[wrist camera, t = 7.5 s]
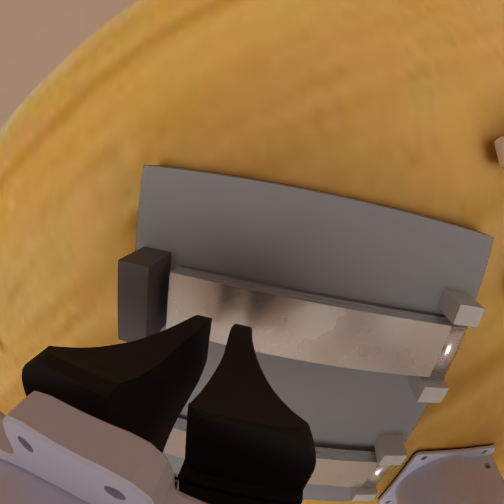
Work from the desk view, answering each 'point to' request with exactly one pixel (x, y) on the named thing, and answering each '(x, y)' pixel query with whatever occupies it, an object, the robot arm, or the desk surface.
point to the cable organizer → (500, 150)
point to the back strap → (327, 462)
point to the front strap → (316, 325)
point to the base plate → (306, 290)
